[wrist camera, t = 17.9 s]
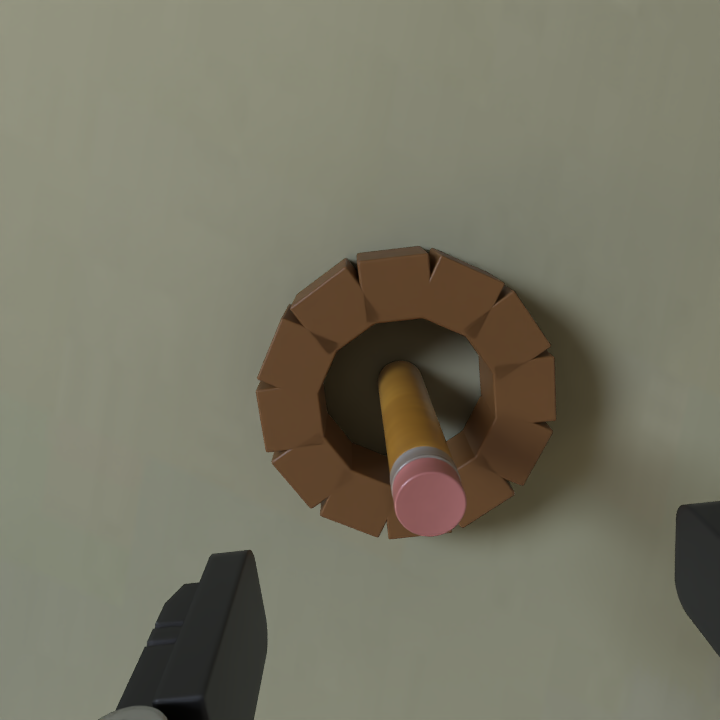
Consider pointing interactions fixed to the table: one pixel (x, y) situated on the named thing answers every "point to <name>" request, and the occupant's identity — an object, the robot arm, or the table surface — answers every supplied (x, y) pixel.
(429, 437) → the pencil
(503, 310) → the brown block ring
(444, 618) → the table surface
